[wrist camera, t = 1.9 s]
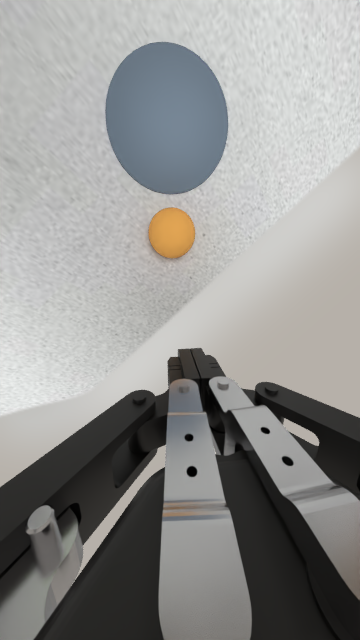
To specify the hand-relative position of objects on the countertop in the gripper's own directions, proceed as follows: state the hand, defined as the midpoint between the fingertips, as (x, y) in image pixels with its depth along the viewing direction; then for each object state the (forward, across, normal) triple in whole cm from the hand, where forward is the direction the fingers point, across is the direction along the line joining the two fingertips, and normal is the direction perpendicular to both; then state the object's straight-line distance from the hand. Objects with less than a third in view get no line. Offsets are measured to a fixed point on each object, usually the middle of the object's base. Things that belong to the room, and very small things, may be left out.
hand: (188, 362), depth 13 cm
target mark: (+17, 0, -22) cm, 27 cm away
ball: (+14, 0, -10) cm, 17 cm away
